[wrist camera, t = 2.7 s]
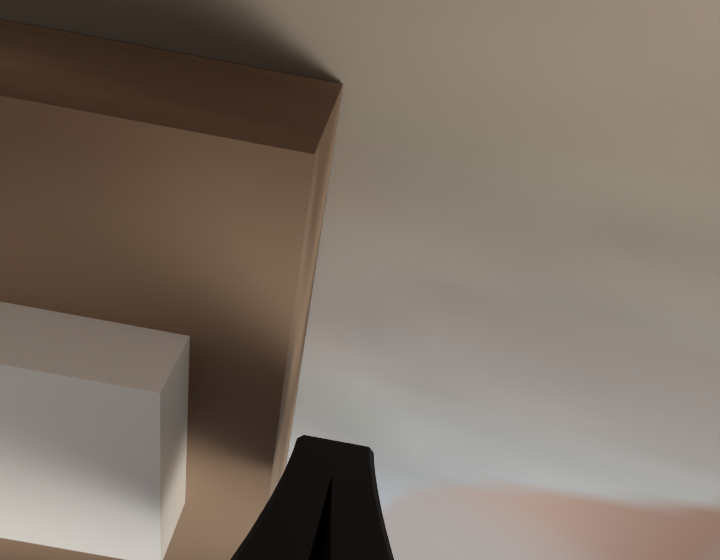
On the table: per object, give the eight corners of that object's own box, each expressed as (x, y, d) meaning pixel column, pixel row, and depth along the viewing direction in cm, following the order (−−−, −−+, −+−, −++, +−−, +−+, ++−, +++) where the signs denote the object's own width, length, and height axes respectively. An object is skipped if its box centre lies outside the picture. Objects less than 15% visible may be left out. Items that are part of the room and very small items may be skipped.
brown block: (282, 485, 19) (252, 614, 16) (-152, 407, 19) (-278, 521, 15) (342, 83, 13) (313, 154, 9) (-311, -40, 12) (-587, -15, 9)
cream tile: (185, 502, 14) (160, 566, 12) (-25, 465, 13) (-72, 525, 12) (190, 336, 11) (160, 393, 10) (-65, 289, 11) (-128, 341, 10)
